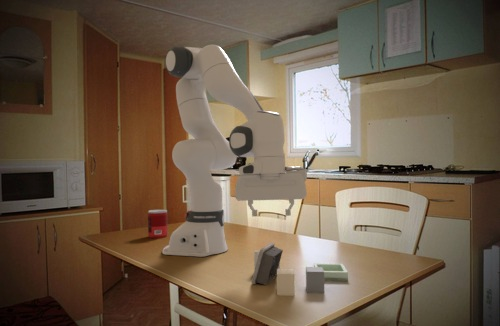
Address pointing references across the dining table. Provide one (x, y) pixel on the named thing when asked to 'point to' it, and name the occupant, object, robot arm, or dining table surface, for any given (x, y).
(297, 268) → the dining table surface
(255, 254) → the label plate
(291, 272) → the beige part
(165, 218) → the canned food
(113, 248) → the dining table surface
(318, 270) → the grey part
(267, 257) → the electrical switch
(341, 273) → the tray
